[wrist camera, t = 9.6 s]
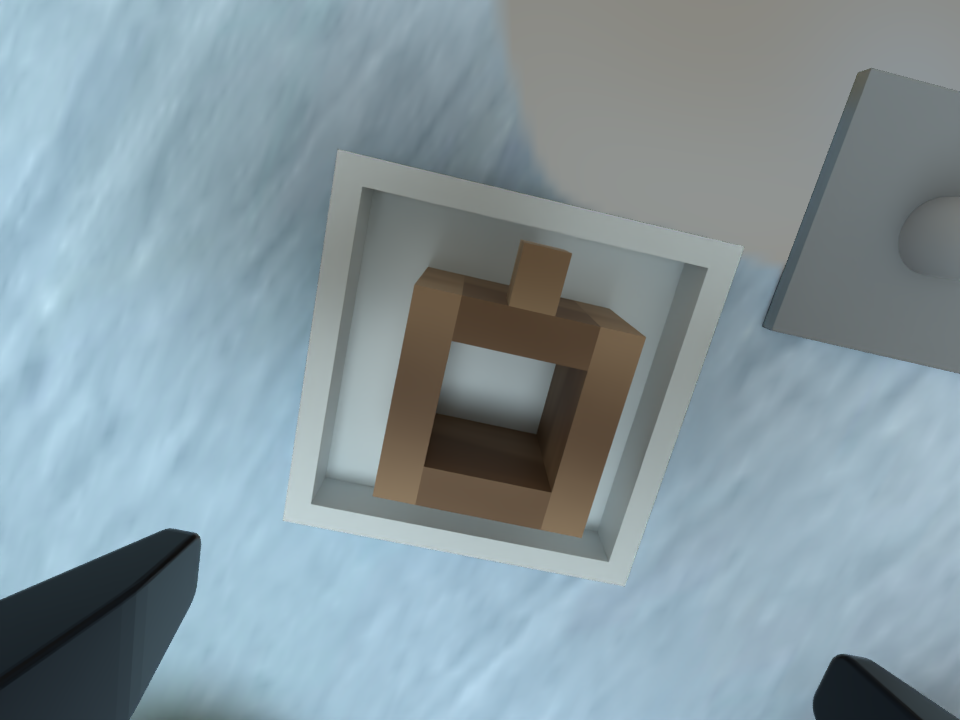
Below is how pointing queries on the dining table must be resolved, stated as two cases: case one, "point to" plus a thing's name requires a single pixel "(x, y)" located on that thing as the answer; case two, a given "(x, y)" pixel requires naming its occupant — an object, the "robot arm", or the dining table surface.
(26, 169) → the dining table surface
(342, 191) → the tray
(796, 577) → the dining table surface
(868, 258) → the post base
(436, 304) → the open wooden frame
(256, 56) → the dining table surface
